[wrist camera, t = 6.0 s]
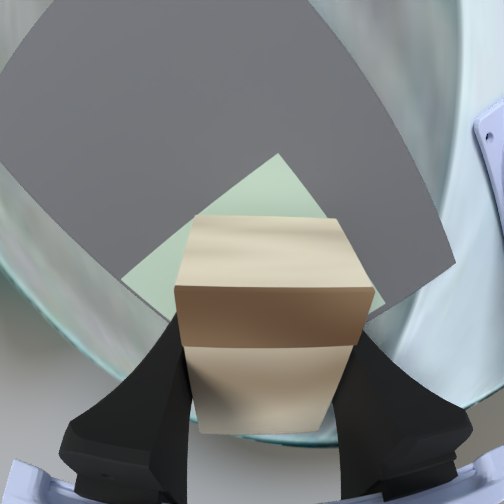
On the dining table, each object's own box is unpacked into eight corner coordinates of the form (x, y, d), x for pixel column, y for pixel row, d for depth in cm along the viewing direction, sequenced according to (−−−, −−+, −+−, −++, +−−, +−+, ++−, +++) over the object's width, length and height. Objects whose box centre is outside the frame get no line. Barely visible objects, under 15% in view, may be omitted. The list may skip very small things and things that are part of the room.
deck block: (305, 363, 16) (318, 435, 12) (206, 363, 15) (199, 437, 12) (336, 218, 11) (375, 291, 8) (194, 215, 11) (173, 290, 8)
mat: (451, 257, 14) (456, 263, 14) (250, 376, 18) (250, 383, 18) (188, -102, 6) (185, -108, 5) (-22, 123, 10) (-29, 126, 9)
